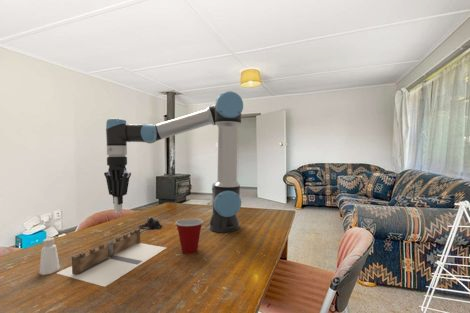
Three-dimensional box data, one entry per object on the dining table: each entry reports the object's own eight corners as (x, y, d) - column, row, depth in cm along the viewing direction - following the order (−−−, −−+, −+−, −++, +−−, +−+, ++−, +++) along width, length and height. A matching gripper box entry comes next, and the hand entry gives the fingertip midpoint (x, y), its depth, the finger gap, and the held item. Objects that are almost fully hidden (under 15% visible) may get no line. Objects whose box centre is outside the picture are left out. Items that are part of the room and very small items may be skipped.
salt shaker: (64, 267, 79) (62, 235, 78) (52, 275, 73) (50, 241, 73) (48, 267, 78) (46, 236, 78) (34, 276, 73) (33, 242, 73)
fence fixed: (75, 274, 72) (74, 257, 72) (72, 274, 73) (71, 256, 73) (108, 257, 83) (108, 242, 83) (105, 257, 84) (105, 242, 84)
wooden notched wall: (110, 257, 84) (109, 242, 83) (106, 256, 84) (105, 241, 84) (140, 242, 98) (140, 229, 97) (137, 241, 98) (136, 228, 98)
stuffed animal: (164, 221, 125) (161, 214, 115) (162, 239, 120) (159, 233, 110) (141, 222, 123) (136, 215, 113) (139, 241, 118) (133, 235, 108)
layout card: (166, 248, 92) (166, 247, 92) (104, 288, 66) (104, 286, 66) (125, 241, 100) (125, 240, 100) (56, 274, 74) (56, 272, 74)
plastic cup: (208, 246, 93) (207, 217, 93) (195, 258, 83) (194, 226, 83) (185, 243, 97) (184, 215, 96) (170, 254, 86) (169, 223, 86)
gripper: (97, 156, 94) (99, 212, 95) (121, 156, 90) (122, 215, 90) (113, 155, 101) (114, 208, 102) (135, 155, 97) (137, 210, 97)
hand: (118, 211), depth 96 cm, fingers closed
